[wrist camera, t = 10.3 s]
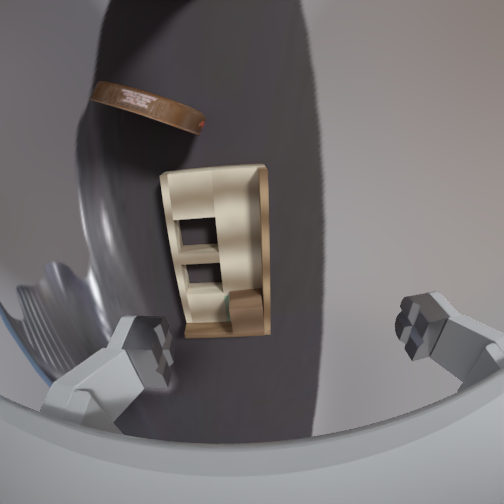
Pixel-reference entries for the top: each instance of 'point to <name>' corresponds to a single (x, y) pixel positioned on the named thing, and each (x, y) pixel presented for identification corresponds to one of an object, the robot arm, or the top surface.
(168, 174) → the board
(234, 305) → the walnut block
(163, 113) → the tin
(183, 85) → the top surface
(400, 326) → the robot arm
